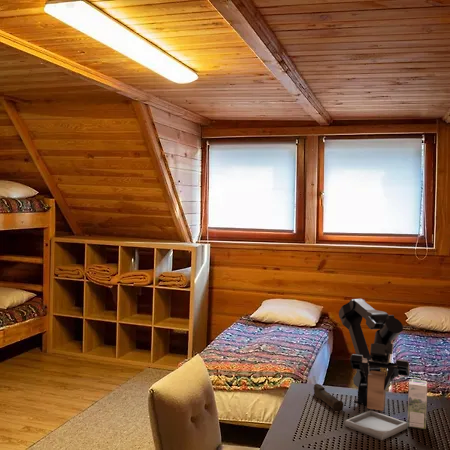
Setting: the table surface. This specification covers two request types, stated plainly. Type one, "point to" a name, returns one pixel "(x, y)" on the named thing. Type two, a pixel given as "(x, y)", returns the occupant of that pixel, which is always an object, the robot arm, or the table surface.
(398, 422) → the tray
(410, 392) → the syrup box
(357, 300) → the robot arm
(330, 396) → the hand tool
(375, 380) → the walnut block
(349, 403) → the table surface
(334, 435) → the table surface
